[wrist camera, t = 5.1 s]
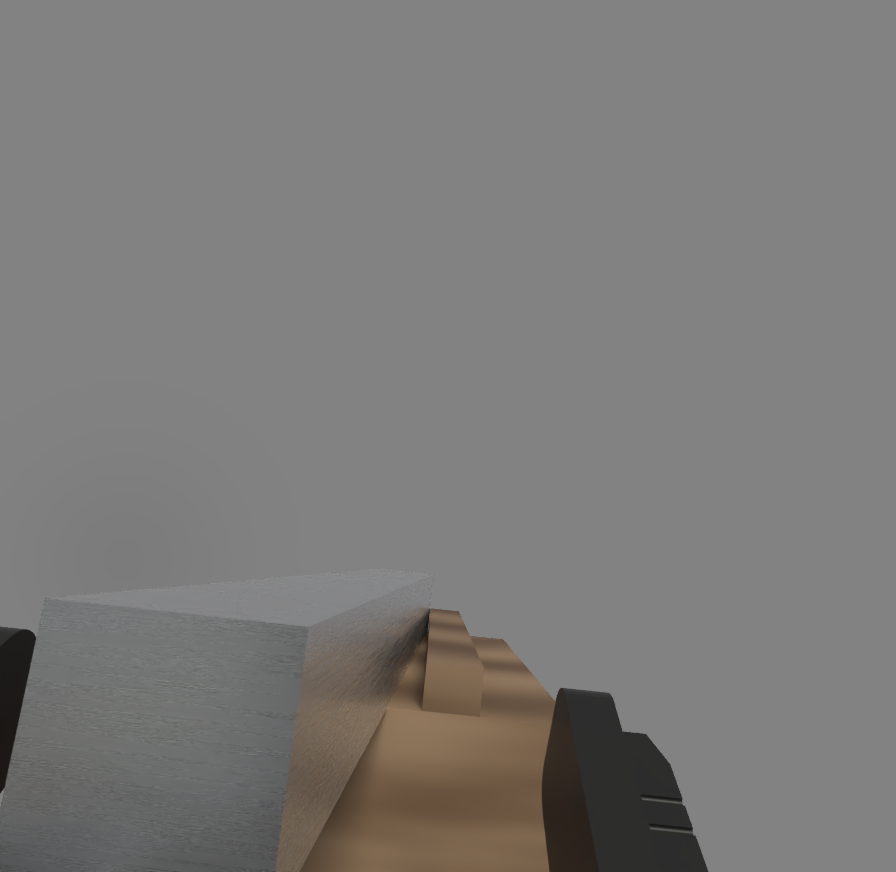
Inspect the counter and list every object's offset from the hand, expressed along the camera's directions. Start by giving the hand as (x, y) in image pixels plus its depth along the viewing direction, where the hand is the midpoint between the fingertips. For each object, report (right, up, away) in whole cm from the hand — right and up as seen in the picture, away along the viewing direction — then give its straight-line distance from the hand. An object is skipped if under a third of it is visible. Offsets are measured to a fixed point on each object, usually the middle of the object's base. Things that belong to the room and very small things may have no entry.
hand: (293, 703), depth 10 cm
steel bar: (-1, -3, +10) cm, 11 cm away
